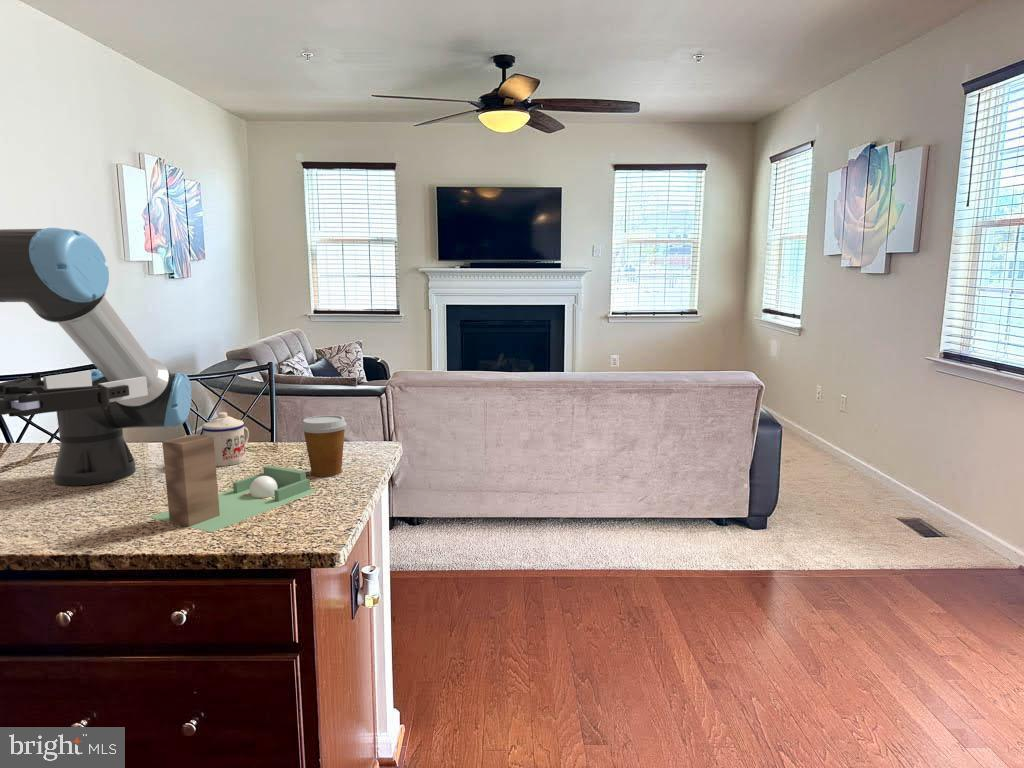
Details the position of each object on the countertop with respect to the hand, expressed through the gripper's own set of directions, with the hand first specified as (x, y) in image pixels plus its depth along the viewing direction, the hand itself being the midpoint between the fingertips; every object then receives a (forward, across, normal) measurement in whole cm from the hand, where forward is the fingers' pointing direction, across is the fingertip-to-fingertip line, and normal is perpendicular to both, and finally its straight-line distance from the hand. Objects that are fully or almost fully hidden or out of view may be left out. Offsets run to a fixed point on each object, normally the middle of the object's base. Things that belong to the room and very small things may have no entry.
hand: (117, 382), depth 102 cm
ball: (+26, 0, -25) cm, 36 cm away
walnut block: (+11, 0, -26) cm, 28 cm away
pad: (+20, 0, -27) cm, 34 cm away
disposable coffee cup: (+46, -3, -28) cm, 54 cm away
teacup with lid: (+44, -31, -28) cm, 61 cm away
